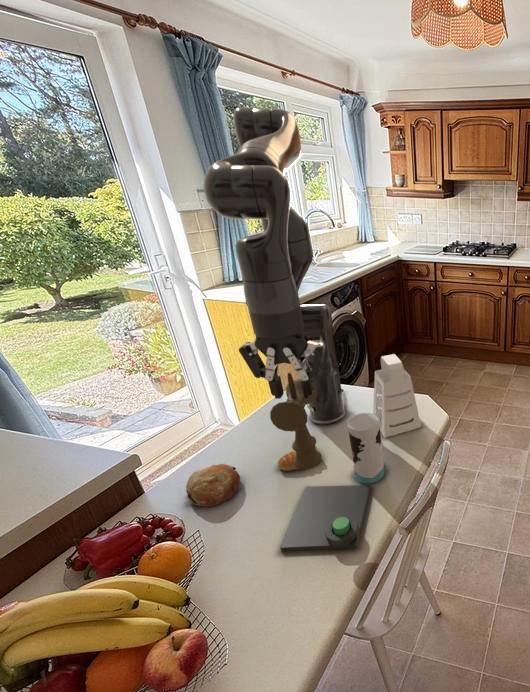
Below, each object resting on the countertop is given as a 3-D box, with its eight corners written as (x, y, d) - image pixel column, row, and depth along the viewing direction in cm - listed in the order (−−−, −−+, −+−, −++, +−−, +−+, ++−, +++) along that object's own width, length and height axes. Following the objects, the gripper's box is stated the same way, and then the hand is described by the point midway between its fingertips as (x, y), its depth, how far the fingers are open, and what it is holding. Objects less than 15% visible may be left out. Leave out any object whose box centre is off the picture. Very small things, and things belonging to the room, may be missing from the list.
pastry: (283, 478, 94) (280, 465, 92) (275, 462, 99) (272, 450, 97) (323, 461, 99) (321, 449, 98) (314, 448, 104) (311, 436, 102)
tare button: (335, 523, 80) (334, 517, 79) (351, 522, 80) (350, 516, 79) (332, 536, 77) (330, 529, 76) (348, 535, 77) (347, 528, 76)
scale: (307, 490, 91) (304, 480, 89) (370, 488, 92) (369, 478, 90) (280, 554, 76) (277, 543, 75) (356, 550, 77) (354, 540, 76)
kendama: (285, 480, 75) (261, 387, 66) (298, 447, 83) (279, 361, 74) (318, 478, 76) (299, 385, 66) (329, 446, 84) (313, 359, 75)
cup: (383, 462, 100) (378, 411, 93) (385, 481, 94) (379, 428, 87) (355, 466, 98) (347, 414, 91) (355, 485, 92) (347, 432, 86)
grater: (384, 437, 109) (377, 371, 100) (373, 418, 117) (365, 355, 108) (421, 426, 113) (417, 363, 104) (407, 408, 122) (403, 348, 112)
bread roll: (191, 506, 90) (165, 492, 84) (222, 465, 96) (200, 449, 90) (224, 519, 88) (199, 505, 81) (254, 475, 93) (233, 460, 87)
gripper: (326, 297, 68) (339, 385, 76) (238, 297, 67) (261, 386, 75) (313, 312, 62) (329, 407, 70) (215, 312, 61) (243, 408, 69)
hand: (294, 395), depth 72 cm, fingers closed on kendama, 4 cm apart
